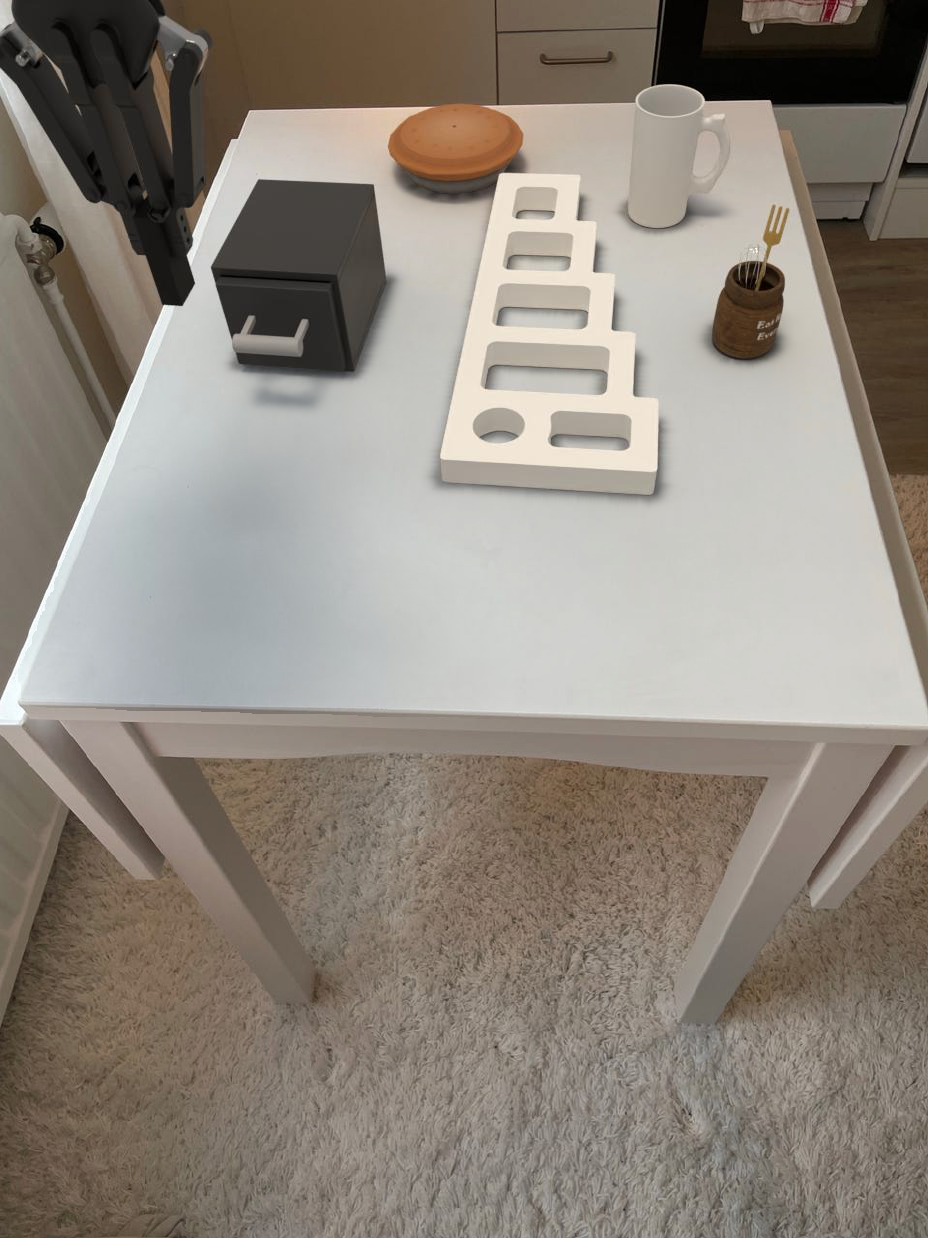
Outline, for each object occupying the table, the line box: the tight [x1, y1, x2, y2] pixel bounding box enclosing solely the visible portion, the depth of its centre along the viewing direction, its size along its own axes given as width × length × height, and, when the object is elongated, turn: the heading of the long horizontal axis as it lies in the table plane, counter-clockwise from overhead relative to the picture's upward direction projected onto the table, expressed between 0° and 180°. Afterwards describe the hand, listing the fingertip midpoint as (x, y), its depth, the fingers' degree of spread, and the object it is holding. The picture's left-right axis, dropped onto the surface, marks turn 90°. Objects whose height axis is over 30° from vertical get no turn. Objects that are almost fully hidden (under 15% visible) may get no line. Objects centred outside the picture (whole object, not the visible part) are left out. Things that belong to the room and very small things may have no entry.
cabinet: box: [210, 178, 387, 372], centre depth 92 cm, size 15×12×11 cm
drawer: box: [214, 276, 347, 373], centre depth 90 cm, size 18×10×9 cm, turn 170°
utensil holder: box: [711, 204, 790, 359], centre depth 86 cm, size 6×6×12 cm
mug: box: [627, 83, 731, 229], centre depth 99 cm, size 10×7×12 cm, turn 76°
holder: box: [439, 172, 660, 496], centre depth 93 cm, size 45×18×3 cm, turn 172°
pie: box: [387, 103, 524, 195], centre depth 110 cm, size 16×16×5 cm
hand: (178, 293), depth 67 cm, fingers closed
